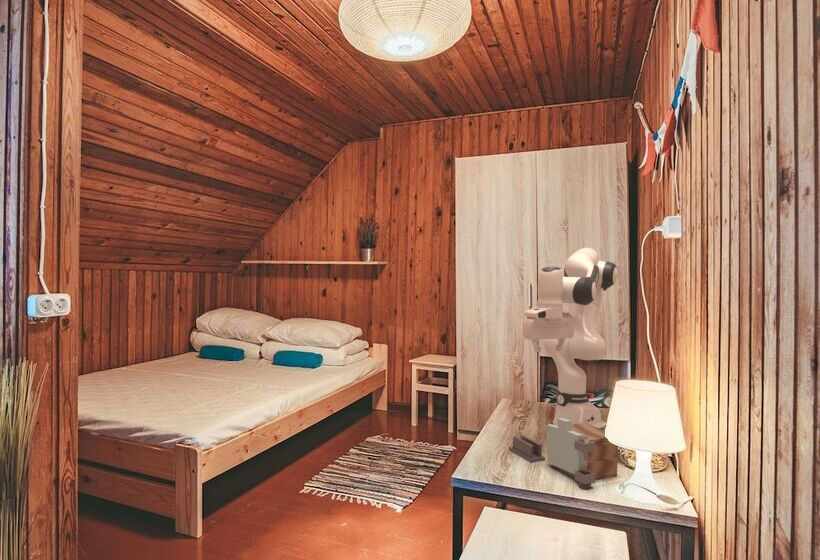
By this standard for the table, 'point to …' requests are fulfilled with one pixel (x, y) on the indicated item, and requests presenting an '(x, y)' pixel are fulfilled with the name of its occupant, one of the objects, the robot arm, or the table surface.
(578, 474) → the door
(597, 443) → the cabinet
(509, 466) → the table surface
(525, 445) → the door stand
